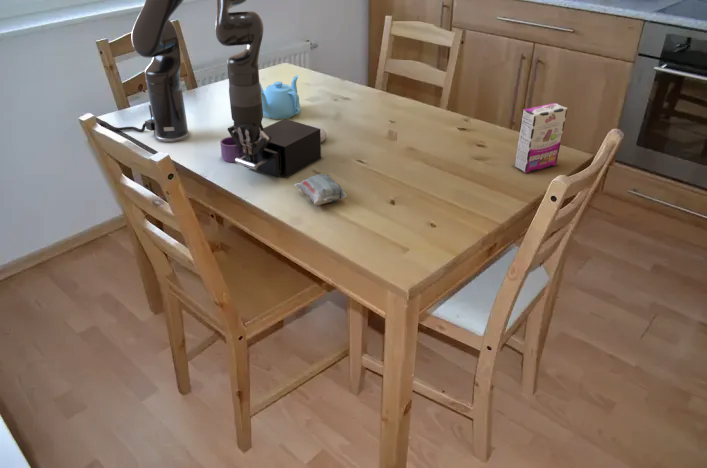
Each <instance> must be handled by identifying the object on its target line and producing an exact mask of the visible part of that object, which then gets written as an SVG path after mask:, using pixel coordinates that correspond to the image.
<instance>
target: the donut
mask: <svg viewBox="0 0 707 468" xmlns="http://www.w3.org/2000/svg"><path fill="white" fill-rule="evenodd" d="M307 125H308V126H312V127H315V128H319V129H320V133H321V143H323V142H324V141H325V140H326V137H327V132H326V130H325V129H324V127H322V126H319V125H316V124H307Z"/></svg>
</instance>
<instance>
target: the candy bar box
mask: <svg viewBox="0 0 707 468" xmlns="http://www.w3.org/2000/svg"><path fill="white" fill-rule="evenodd" d="M568 109H569V108H568V107H566V106H564V105H561V104H559V103H557V102H553V103H548V104H543V105H538V106H534V107H529V108H524V109H523V110H522V116H521V123H520V128H519V136H518V141H517V147H516V152H515V153H516V155H515V160H514V168H516V169H517V170H519V171H522V172H523V173H525V174H527V173H532V172H535V171H539V170H542V169H546V168H549V167H554V166H556V165H557V162H558V159H559V152H560V147H561V143H562V138H563V133H564V127H565V123H566V118H567V113H568Z"/></svg>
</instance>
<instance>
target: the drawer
mask: <svg viewBox="0 0 707 468" xmlns="http://www.w3.org/2000/svg"><path fill="white" fill-rule="evenodd" d="M257 158H258V163H257V164H254V163H252V162H249V161H246V159H245V153H244V152H243V157H242V158H236V159H235V162H234V163H235V164H238V165H241V166H244V168H247V169H250V170H253V171H256V172H258V173H261V174H264V175H267V176H270V177H273V178H275V179H278V178H280V177H281V175H280V173H281V172H283V171H284V162H283V149H281V148H278V147H275V146H272V145H269V144H267V146H266V147H265V149H264V150H263V151H262V152H260V153H258V154H257ZM279 172H280V173H279Z"/></svg>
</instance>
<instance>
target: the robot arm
mask: <svg viewBox="0 0 707 468" xmlns="http://www.w3.org/2000/svg"><path fill="white" fill-rule="evenodd" d="M184 1H185V0H145V1H144V3H143V6H142V8H141V10H140V12H139V14H138V16H137V18H136V21H135V22H134V24H133V27H132V30H131V44H132V47H133V50H134V51H135V52H136V54H138V55H139V56H140V57H141V58H142V57H143V58H147V59H150V58H151V62H150V63H149V64H148V66H147V67H146V68H145V69H144V77H145V82H146V88H147V92H148V98H149V104H148V109H149V114H150V119H147V120H144V122H143V124H142V127H141V128H138V127H136V126H122V127H118V126H117V127H116V126H112V125H111V124H110V123H108V122H106V121H104V120H102V121H100V122H99V123H98V124H100V125H101V126H102V125H104V126H106V127H107V128H109V129H111V130H113V131H119V132H120V131H129V130H131V131H132V130H133V131H136V132H138V133H143V132H144V131H145V130H148V131H151V132H153V136H154V137H155V139H156V140H157V141H158V142H159V141H160V142H163V143H175V142H180V141H183V140H185V139H187V138H188V137H189V136H190V132H189V128H188V120H187V114H186V113H187V112H186V107H185V100H184V94H183V87H182V80H181V74H180V72H181V69H182V58H181V48H180V40H179V34H178V32H177V31H178V30H177V29H176V26H175V24H173V22H172V21H171V20H170V18H171V16H172V15H173V14H174V13H175V11H177V9H179V7H180V6H181V5H182V4H183V2H184ZM246 2H247V0H216V14H215V25H214V26H215V27H214V32H215V37H216V40H217V41H218V42H219V43H220V44H221V46H224V47H238V46H246V47H245V48H244V50H243V51H241V52H238V53H235V54H233V55H231V56H229V57H228V59H227V60H226V67H227V76H228V94H229V95H228V96H229V97H228V98H229V104H230V115H231V120H232V121H233V125H231V126H229V127H228V128H227V132H228V133H229V135H230V137H232V139H233V140H234V142H235V143H236V145H237V147H238V148H239V149H242V150H243V152H244V153H245V159H246V161H249V162H252V163H254V164H257V163H258V158H257V154H258V153H260V152H262V151H263V150H264V149H265V147H266V146H267V144H268V143H269V142H270V140H271V136H270V135H268V136H267V135H266V134H265V133H264V132H263V128H264V126H263V123H262V122H263V119H264V115H263V107H262V94H261V87H260V84H261V81H260V72H259V58H260V51H261V46H262V42H263V37H264V22H263V19H262V17H261V15H260V14H259V13H258V12H257V11H253V10H247V11H235V12H234V11H233V12H230V11H229V10H230V9H232V8H234V7H238V6H240V5H243V4H244V3H246ZM259 137H260V138H259ZM238 139H240V141H239V140H238Z"/></svg>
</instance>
